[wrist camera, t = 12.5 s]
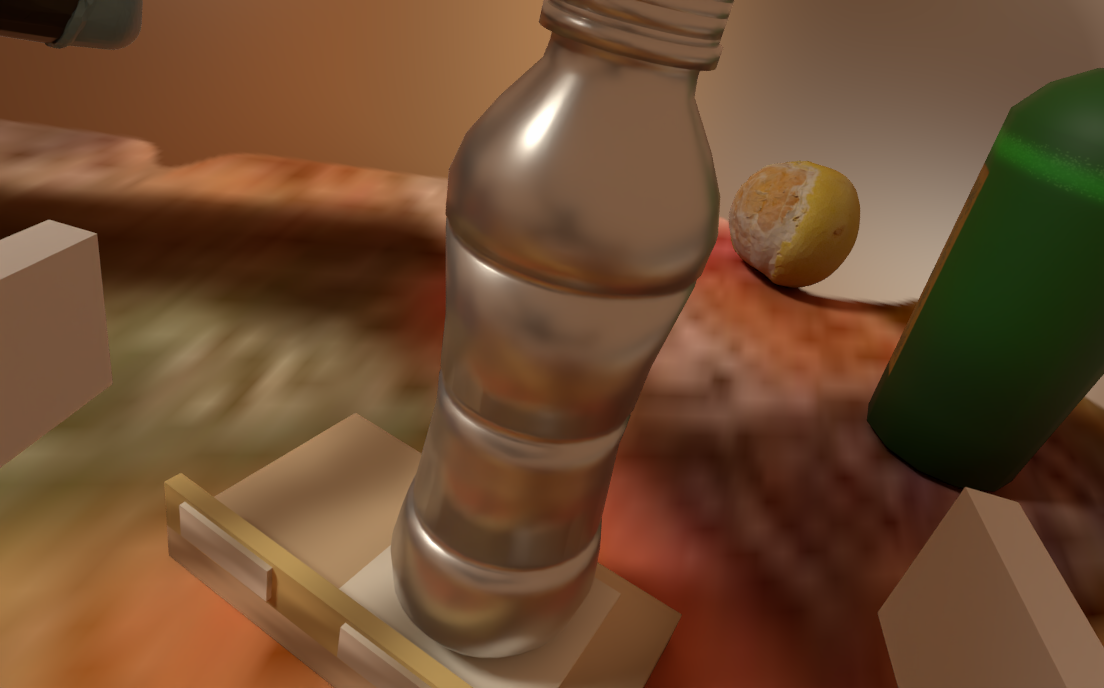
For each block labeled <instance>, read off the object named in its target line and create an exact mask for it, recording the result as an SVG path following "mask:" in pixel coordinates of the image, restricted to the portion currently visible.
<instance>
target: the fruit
mask: <svg viewBox="0 0 1104 688" xmlns="http://www.w3.org/2000/svg"><path fill="white" fill-rule="evenodd" d="M859 222H860V204H859V199H858V196H857V192H856V189H855V188H854V186H853V184H852V183H851V182H850V180H849V179H847V177H846V176H844V175H843V174H841V173H840V172H838V171H836V170H833V169H831V168H828V167H825V166H821V165H818V164H814V163H812V162H809V161H803V162H801V161H797V162H786V163H782V164H781V163H779V164H778V163H777V164H771V165H768V166H765V167H763V168H762V169H761V170H759V171H758V172H756V173H755V174H753V175H752V176H750V177H749V179H748V181H747V182H746V183H744V184H743V185H741V187H740V189H739V190H738V192H737V194H736V195H735V197H734V201H733V203H732V206H731V209H730V212H729V228H730V235H731V241H732V245H733V247H734V250H735V251H736V252H737V254H738V255H739V256H740V257H741V258H742V259H743V260H744V261H745V262H746V263H748V264H749V265H751V266H752V267H754V268H756V269H757V270H759V271H760V272H762V273H763V274H764V275H765V276H767V277H768V278H769V279H770V280H771V281H772V282H773V283H775V284H777V285H781V286H787V287H797V288H798V287H805V286H809V285H812V284H815V283H818V282H820V281H822V280H824V279H825V278H827V277H828V276H830V275H831V274H832V273H833V272H834V271H835V270H836V269H837V268H838V267H839V266H840V265H841V264H842V263H843V262H844V260H845V259H846V257H847V256H848V255H849V253H850V252H851V250H852V248H853V246H854V244H855V241H856V238H857V234H858V230H859Z"/></svg>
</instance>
